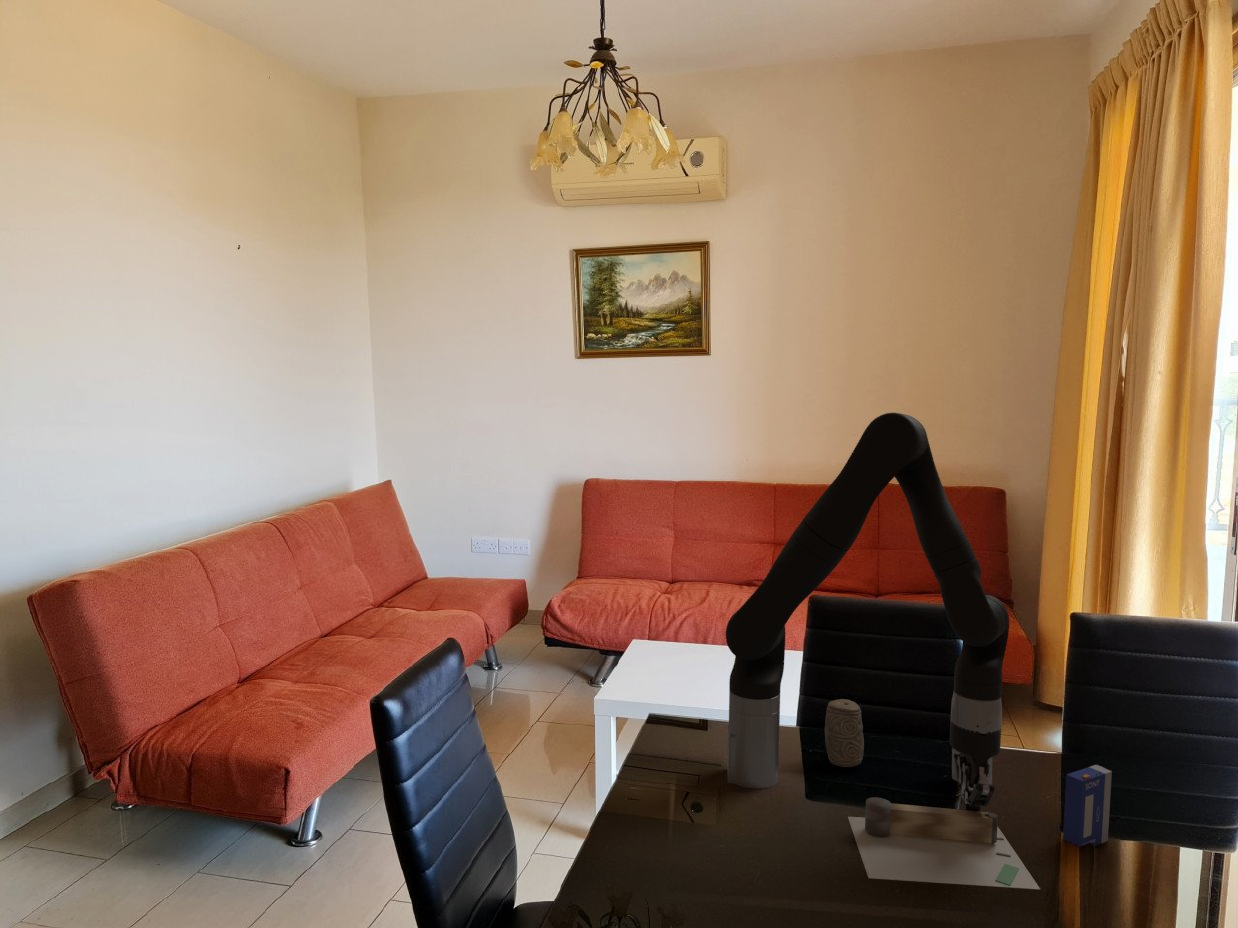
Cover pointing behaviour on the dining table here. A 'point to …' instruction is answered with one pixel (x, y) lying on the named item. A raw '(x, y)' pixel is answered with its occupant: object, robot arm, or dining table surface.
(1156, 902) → the dining table surface
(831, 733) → the carving
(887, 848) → the dial plate
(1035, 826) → the dining table surface
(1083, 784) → the walkman
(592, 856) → the dining table surface
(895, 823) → the pointer lever
